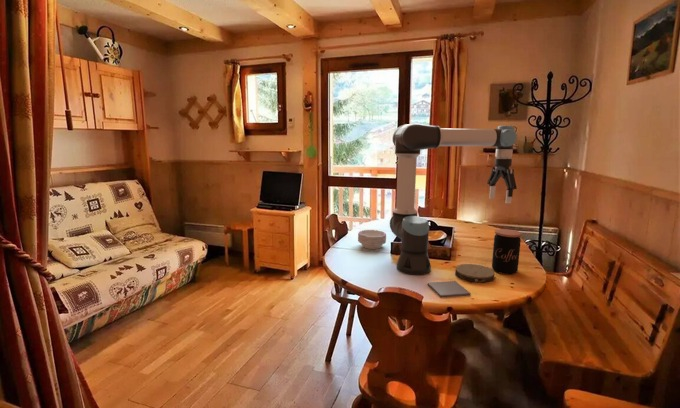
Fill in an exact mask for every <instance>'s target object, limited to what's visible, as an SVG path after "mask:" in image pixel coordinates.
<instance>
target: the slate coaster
mask: <svg viewBox="0 0 680 408" xmlns="http://www.w3.org/2000/svg"><path fill="white" fill-rule="evenodd" d="M427 287H429V288H430V289H431V290H432V291H433V292H434V294H436V295H437V296H438V297H439V298H441V299H442V298H443V299H444V298H456V297H470V296H471V295H472V294H471V292H470V291H469V290H467V288H465V287H463V285H461V284H460V283H458V281H456V280H451V281H447V280H446V281H434V282H431V281H430V282H427Z"/></svg>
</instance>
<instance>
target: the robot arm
mask: <svg viewBox="0 0 680 408" xmlns="http://www.w3.org/2000/svg"><path fill="white" fill-rule="evenodd" d="M517 139H518V138H517V133H516V130H515V127H514V126H513V125H499V126H497V128H449V127H448V128H445V127H443V128H442V127H440V126H439V125H427V124H422V123H409V124H407V123H404V124H402V125H400V126H398V127H397V128H396V129H395V130H394V132H393V134H392V144H393V146H394V155H395V156H396V157H397V172H396V173H397V175H396V177H397V179H396V199H395V200H396V201H395V202H396V203H395V204H396V206H395V208H394V209H392V210H393V211H392V216H391V218H390V220H389V228H390V231H391V232H392V234H393V235H394V236H396V237H397V238H399V239H400V240H401V251H400V254H399V256H398V259H397V262H396V270H397V271H398V272H399V273H403V274H405V275H412V276H414V275H415V276H422V275H426V274H429V273H430V272H431V271H432V267H431V266H432V265H431V262H430V258H429V254H428V250H429V237H430V236H429V235H430V234H429V233H430V222H429V221H428V219H426V218H424V217H421V216H418V211H417V209H415V203H416V202H415V201H416V199H415V198H416V181H417V180H416V179H417V178H416V177H417V158H418V157H419V156H420V155H421V151H422V150H429V149H433V150H434V149H439V147H495V155H494V156H495V158H494V166H493V167H491V173H490V175H489V177H488V179H487V185H489V196H488V197H489V200H495V199H496V198H495V197H496V189H497V187H496V185H497V182H498V181H499V180H500V178H502V179H503V181H504V183H505V185H506V188H507V189H506V192H505V201H504V202H505V204H512V199H513V193H514V190H517V183H516V177H515V175H514V174H515V173H514V172H515V171H514V169H513V168H510V167H511V166H512V165H513V163H512V162H513V159H512V158H513V149H514V144H515V143H516V141H517Z"/></svg>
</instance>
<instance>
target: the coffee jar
mask: <svg viewBox="0 0 680 408" xmlns="http://www.w3.org/2000/svg"><path fill="white" fill-rule="evenodd" d="M494 234H495V235H494V236H493V247H492V249H493V250H492V259H491V269H492V270H493V271H494V272H496V273H498V274H502V275H515V274H516V273H517V272H518V271H519V263H520V262H519V261H520V252H521V251H520V249H521V242H522V241H521V240H522V239H521V236H522V233H521V232H520V231H518V230H516V229H515V230H514V229H508V228H498V229H495V230H494Z"/></svg>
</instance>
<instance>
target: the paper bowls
mask: <svg viewBox="0 0 680 408" xmlns="http://www.w3.org/2000/svg"><path fill="white" fill-rule="evenodd" d="M357 234H358V235H357V241H358V243H360V244H361V246H362V247H363V248H365V249H367V250H378V249H380V248H382V246H383V245H385V244H386V242H387V234H386V232H384V231H382V230H377V229H376V230H375V229H363V230H360V231H358V233H357Z"/></svg>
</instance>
